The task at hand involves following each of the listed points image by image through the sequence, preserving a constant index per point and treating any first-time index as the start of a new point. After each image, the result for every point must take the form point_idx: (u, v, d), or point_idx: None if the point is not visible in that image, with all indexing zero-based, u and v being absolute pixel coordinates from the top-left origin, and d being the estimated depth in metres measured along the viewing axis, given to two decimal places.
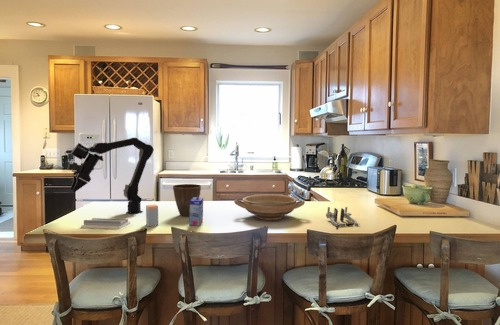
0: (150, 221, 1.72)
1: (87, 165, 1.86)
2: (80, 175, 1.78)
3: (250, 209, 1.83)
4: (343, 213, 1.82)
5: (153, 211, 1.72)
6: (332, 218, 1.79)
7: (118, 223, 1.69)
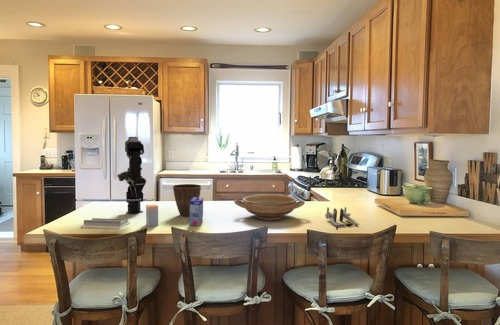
0: (150, 221, 1.72)
1: (134, 168, 1.82)
2: (135, 181, 1.76)
3: (250, 209, 1.83)
4: (342, 213, 1.81)
5: (153, 211, 1.72)
6: (331, 218, 1.79)
7: (118, 223, 1.69)
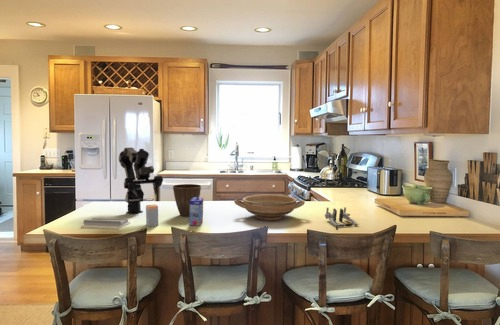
0: (150, 221, 1.72)
1: None
2: None
3: (250, 209, 1.83)
4: (342, 213, 1.81)
5: (153, 211, 1.72)
6: (331, 218, 1.78)
7: (118, 223, 1.69)
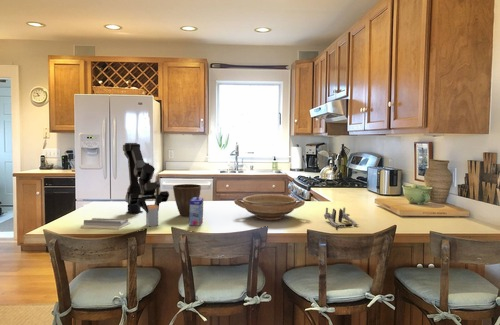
0: (150, 221, 1.72)
1: None
2: None
3: (250, 209, 1.83)
4: (341, 214, 1.80)
5: (153, 211, 1.72)
6: (331, 219, 1.78)
7: (118, 223, 1.69)
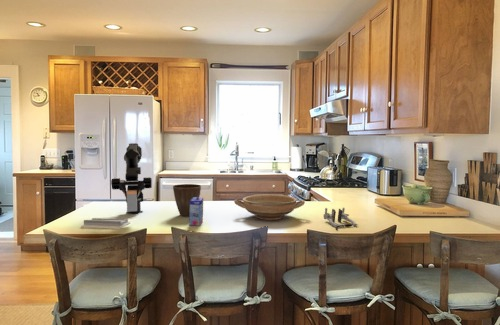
0: (128, 206, 1.73)
1: None
2: (151, 179, 1.80)
3: (250, 209, 1.83)
4: (341, 214, 1.80)
5: (131, 196, 1.73)
6: (330, 219, 1.77)
7: (118, 223, 1.69)
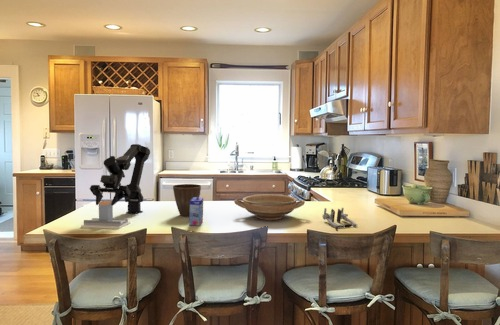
0: (100, 217, 1.72)
1: (118, 179, 1.80)
2: (126, 188, 1.75)
3: (250, 209, 1.83)
4: (340, 214, 1.79)
5: (103, 207, 1.71)
6: (330, 219, 1.77)
7: (118, 223, 1.69)
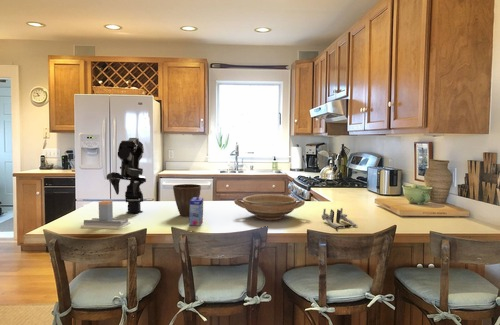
0: (100, 217, 1.72)
1: None
2: None
3: (250, 209, 1.83)
4: (339, 214, 1.79)
5: (103, 207, 1.71)
6: (329, 220, 1.76)
7: (118, 223, 1.69)
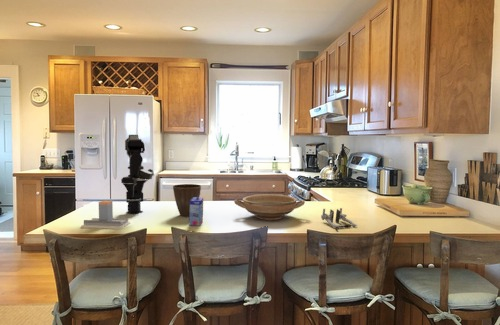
0: (100, 217, 1.72)
1: None
2: None
3: (250, 209, 1.83)
4: (339, 214, 1.79)
5: (103, 207, 1.71)
6: (329, 220, 1.75)
7: (118, 223, 1.69)
